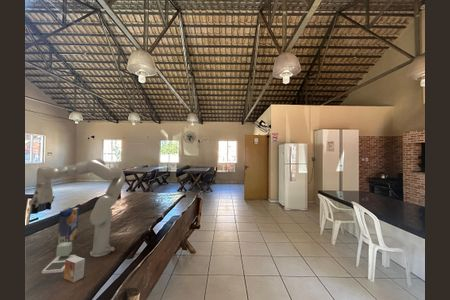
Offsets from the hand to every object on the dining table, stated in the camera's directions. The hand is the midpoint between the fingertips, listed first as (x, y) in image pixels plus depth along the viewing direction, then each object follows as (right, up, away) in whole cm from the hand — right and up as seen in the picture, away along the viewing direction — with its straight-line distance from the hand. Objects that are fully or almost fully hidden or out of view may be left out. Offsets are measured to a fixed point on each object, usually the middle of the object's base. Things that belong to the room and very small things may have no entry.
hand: (41, 211), depth 138 cm
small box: (+39, -30, -24) cm, 55 cm away
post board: (+21, -29, -12) cm, 38 cm away
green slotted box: (+20, -25, -7) cm, 33 cm away
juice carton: (+1, -29, +21) cm, 36 cm away
